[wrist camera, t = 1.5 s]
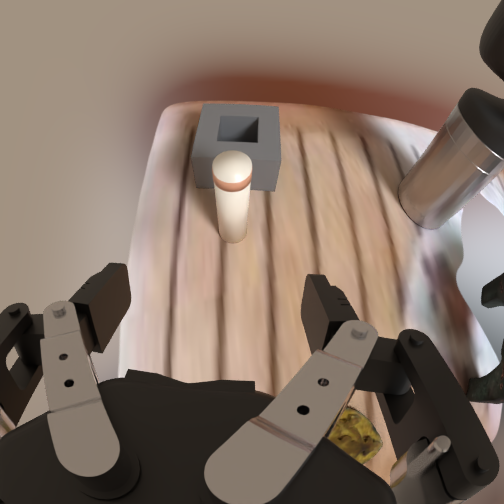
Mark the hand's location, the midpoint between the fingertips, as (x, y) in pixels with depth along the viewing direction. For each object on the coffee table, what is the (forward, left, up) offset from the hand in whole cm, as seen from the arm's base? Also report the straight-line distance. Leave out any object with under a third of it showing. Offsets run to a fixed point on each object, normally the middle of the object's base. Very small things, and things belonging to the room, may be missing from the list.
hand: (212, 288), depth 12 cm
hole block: (-13, -19, -18) cm, 29 cm away
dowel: (-7, -10, -18) cm, 21 cm away
